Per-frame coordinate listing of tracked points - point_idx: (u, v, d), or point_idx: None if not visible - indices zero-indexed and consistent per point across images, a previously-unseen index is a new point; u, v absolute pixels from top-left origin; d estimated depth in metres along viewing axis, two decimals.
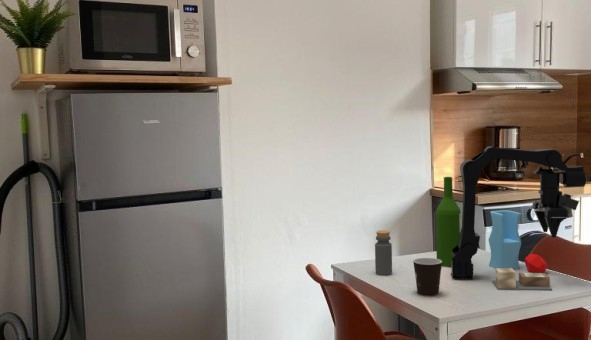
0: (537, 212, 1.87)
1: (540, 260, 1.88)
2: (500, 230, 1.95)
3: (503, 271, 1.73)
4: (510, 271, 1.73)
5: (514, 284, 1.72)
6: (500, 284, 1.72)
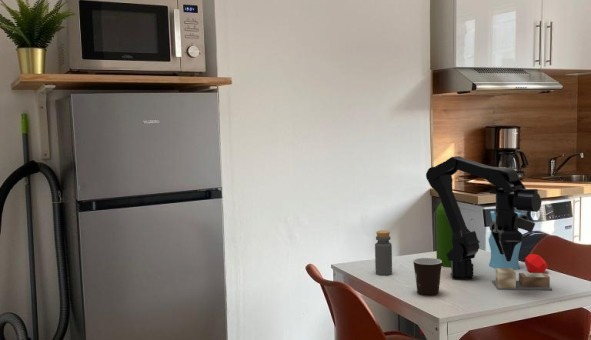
0: (493, 233, 1.79)
1: (540, 260, 1.88)
2: None
3: (503, 271, 1.73)
4: (510, 271, 1.73)
5: (514, 284, 1.72)
6: (500, 284, 1.72)
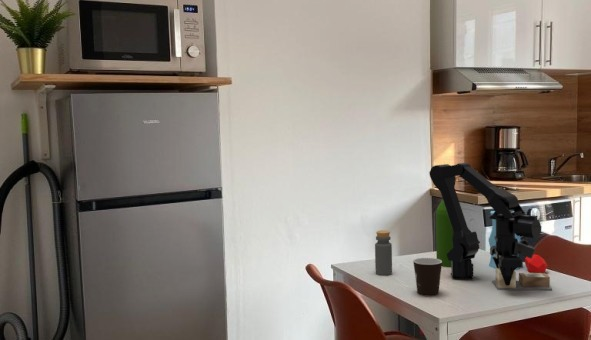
0: (495, 259, 1.78)
1: (540, 260, 1.88)
2: None
3: None
4: None
5: (514, 284, 1.72)
6: (500, 284, 1.72)
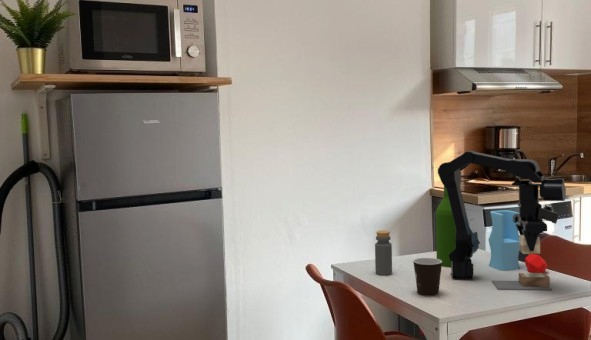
0: (518, 226, 1.77)
1: (540, 260, 1.88)
2: (500, 230, 1.95)
3: None
4: None
5: (538, 250, 1.71)
6: (524, 250, 1.72)
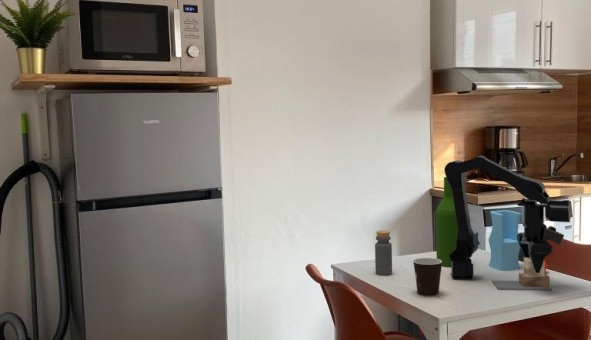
0: (521, 245, 1.80)
1: None
2: (500, 230, 1.95)
3: None
4: None
5: (543, 273, 1.72)
6: (529, 273, 1.73)
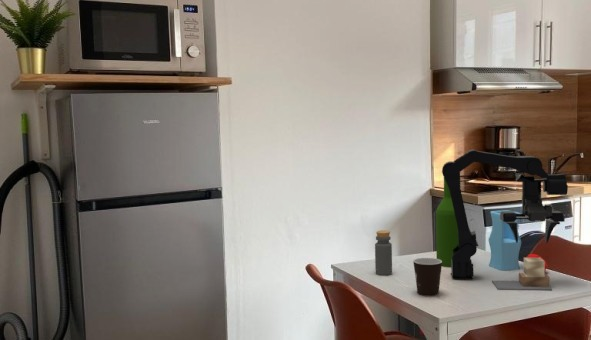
0: (546, 221, 1.82)
1: None
2: (500, 230, 1.95)
3: (531, 260, 1.73)
4: (539, 260, 1.73)
5: (543, 273, 1.72)
6: (529, 273, 1.73)
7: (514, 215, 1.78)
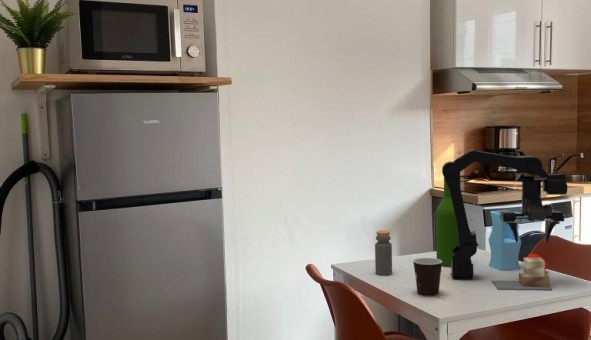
0: (545, 220, 1.82)
1: None
2: (500, 230, 1.95)
3: (531, 260, 1.73)
4: (539, 260, 1.73)
5: (543, 273, 1.72)
6: (529, 273, 1.73)
7: (514, 215, 1.79)
